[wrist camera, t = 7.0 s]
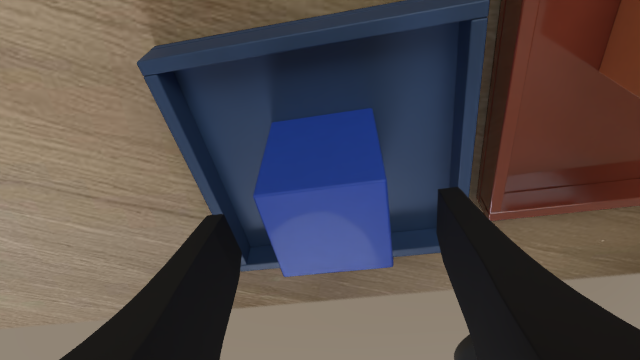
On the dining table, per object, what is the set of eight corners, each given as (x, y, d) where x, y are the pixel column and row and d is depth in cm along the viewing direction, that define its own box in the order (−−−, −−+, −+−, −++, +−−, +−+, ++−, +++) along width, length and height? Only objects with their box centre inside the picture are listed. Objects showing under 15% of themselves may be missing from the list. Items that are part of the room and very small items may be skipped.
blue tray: (454, 226, 18) (463, 251, 17) (246, 247, 20) (240, 272, 18) (472, -13, 11) (491, -1, 10) (154, 45, 13) (135, 62, 12)
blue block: (379, 186, 16) (393, 267, 13) (293, 197, 17) (283, 277, 13) (372, 106, 14) (387, 180, 10) (271, 121, 14) (251, 196, 11)
